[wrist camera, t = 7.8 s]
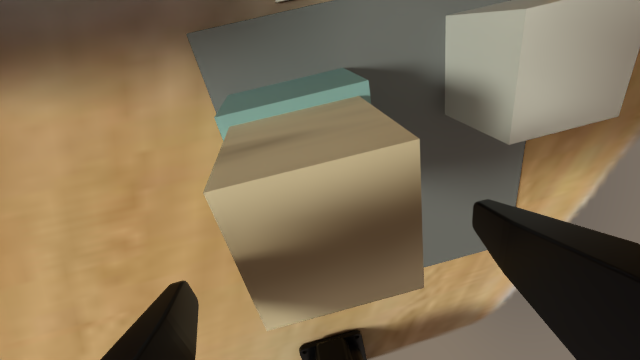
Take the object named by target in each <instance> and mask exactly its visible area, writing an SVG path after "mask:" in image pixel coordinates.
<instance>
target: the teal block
mask: <svg viewBox="0 0 640 360" xmlns="http://www.w3.org/2000/svg"><path fill="white" fill-rule="evenodd" d="M356 96H360V97H361V98H363V99H364V100H366V101H367V102H368V103H370V104H371V98H370V89H369V80H367V79H365V78H363V77H361V76H359V75H357V74H355V73H353V72H351V71H349V70H347V69H344V68H340V69H335V70H331V71H327V72H323V73H319V74H314V75H310V76H306V77H302V78H298V79H294V80H289V81H285V82H281V83H277V84H273V85H268V86H264V87H260V88H256V89H252V90H247V91H243V92H239V93H235V94H231V95H228V96H227V98H226V99H225V101H224V103H223V104H222V106H221V107H220V109H219V111H218V112H217V114H216V116H215V117H214V118H215V120H216V123H217V126H218V128H219V131H220V133H221V136H222V138H223V141H224V139H225V136H226V134H227V131H228V129H229V127H230V126H234V125H238V124H243V123H247V122H251V121H255V120H259V119H264V118H268V117H272V116H276V115H280V114H285V113H289V112H293V111H297V110H301V109H305V108H310V107H314V106H318V105H322V104H326V103H331V102H335V101H339V100H343V99H347V98H351V97H356Z"/></svg>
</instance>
